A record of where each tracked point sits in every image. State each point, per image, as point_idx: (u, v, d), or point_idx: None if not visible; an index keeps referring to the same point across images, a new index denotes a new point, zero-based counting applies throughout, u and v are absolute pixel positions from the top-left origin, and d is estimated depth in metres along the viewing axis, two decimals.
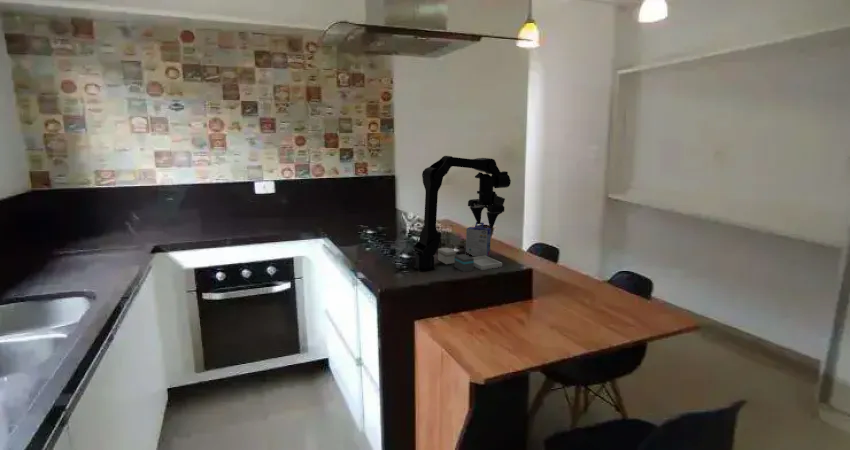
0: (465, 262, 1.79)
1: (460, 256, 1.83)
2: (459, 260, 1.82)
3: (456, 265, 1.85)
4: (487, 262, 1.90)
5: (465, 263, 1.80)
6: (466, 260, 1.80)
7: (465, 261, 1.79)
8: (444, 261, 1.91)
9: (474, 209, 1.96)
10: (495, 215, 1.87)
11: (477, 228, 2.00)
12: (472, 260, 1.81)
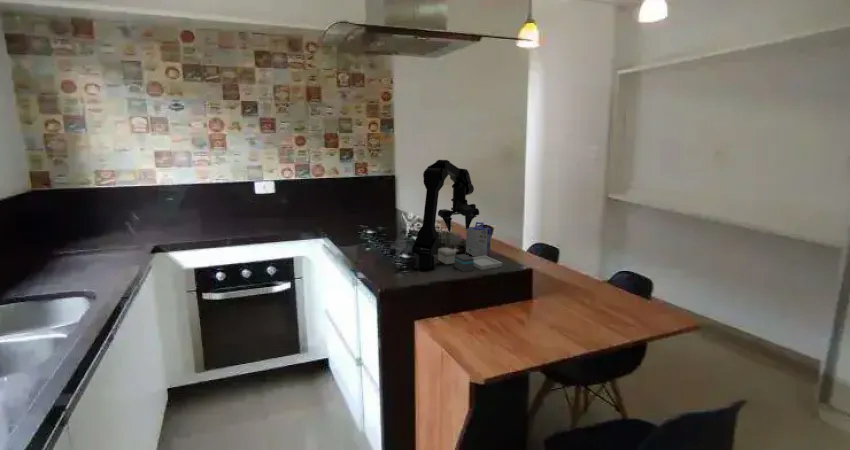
0: (465, 262, 1.79)
1: (460, 256, 1.84)
2: (459, 260, 1.82)
3: (456, 265, 1.85)
4: (487, 262, 1.90)
5: (465, 263, 1.80)
6: (466, 260, 1.80)
7: (465, 261, 1.79)
8: (444, 261, 1.91)
9: (465, 215, 2.13)
10: None
11: (477, 228, 2.00)
12: (472, 260, 1.81)
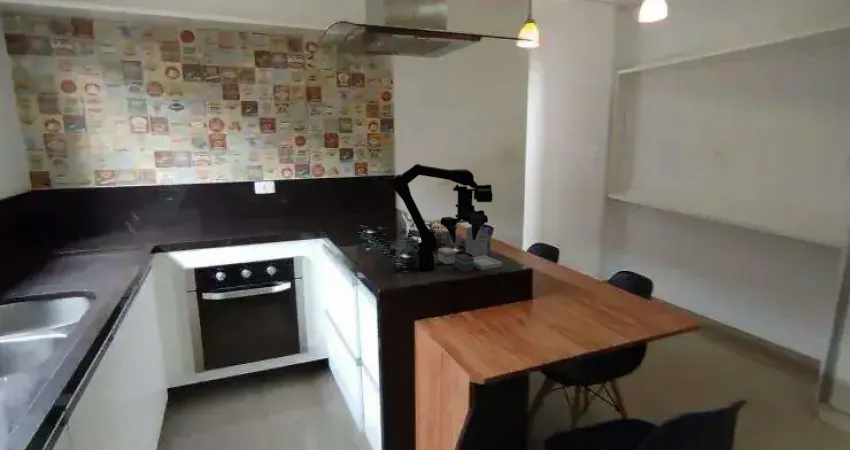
0: (465, 262, 1.79)
1: (460, 256, 1.84)
2: (459, 260, 1.82)
3: (456, 265, 1.85)
4: (487, 262, 1.90)
5: (465, 263, 1.80)
6: (466, 260, 1.80)
7: (465, 261, 1.79)
8: (444, 261, 1.91)
9: None
10: None
11: None
12: (472, 260, 1.81)
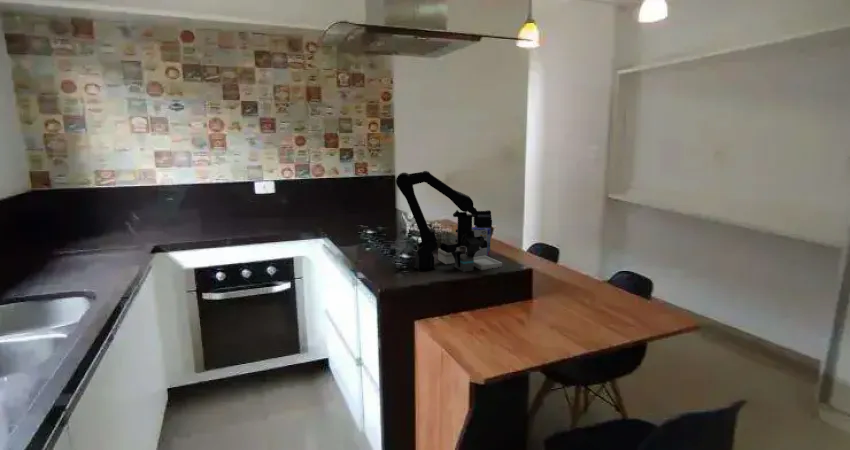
0: (465, 262, 1.79)
1: (460, 256, 1.83)
2: None
3: (456, 265, 1.85)
4: (487, 262, 1.90)
5: (465, 263, 1.80)
6: (466, 260, 1.80)
7: (465, 261, 1.79)
8: (444, 261, 1.91)
9: (467, 248, 1.86)
10: None
11: (477, 228, 2.00)
12: (472, 260, 1.81)
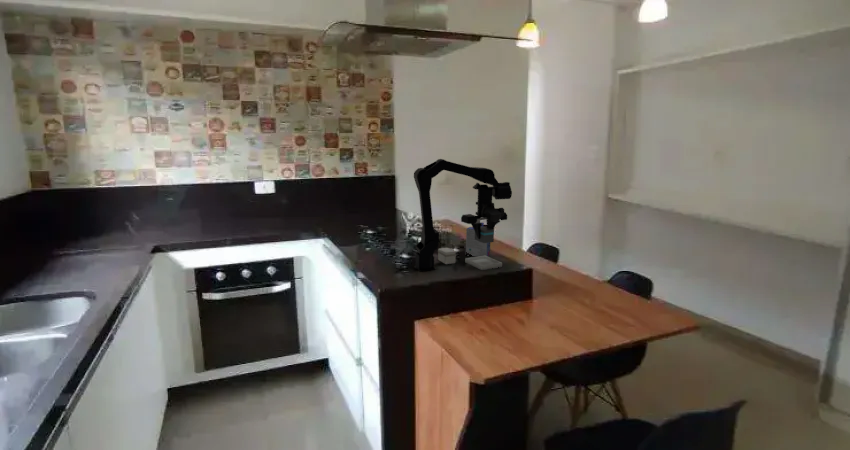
0: (485, 233, 1.82)
1: None
2: None
3: (476, 237, 1.88)
4: (487, 262, 1.90)
5: (485, 234, 1.82)
6: (486, 231, 1.83)
7: (485, 232, 1.82)
8: (444, 261, 1.91)
9: (487, 221, 1.89)
10: None
11: None
12: (492, 232, 1.84)
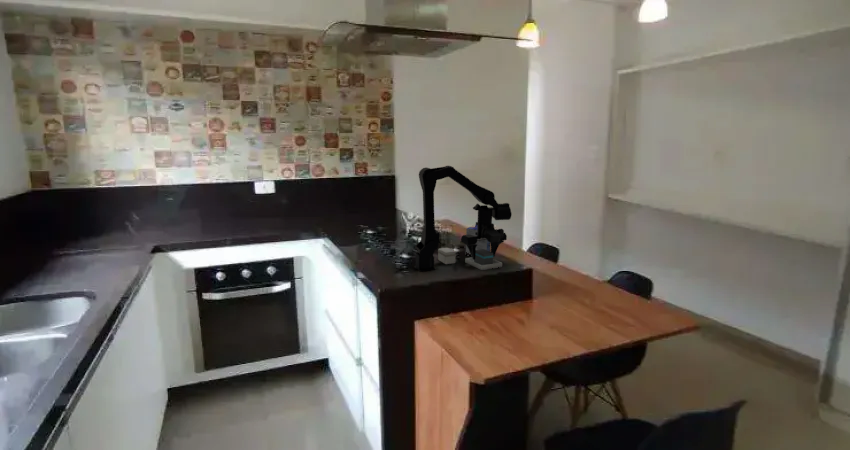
0: (485, 256, 1.85)
1: (480, 251, 1.89)
2: (479, 255, 1.87)
3: (475, 259, 1.90)
4: None
5: (485, 257, 1.85)
6: (486, 254, 1.85)
7: (485, 255, 1.85)
8: (444, 261, 1.91)
9: None
10: None
11: None
12: (492, 255, 1.86)
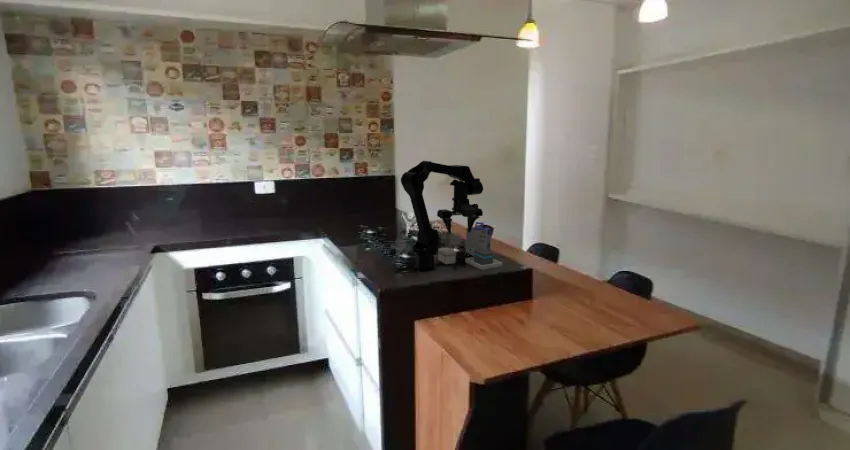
0: (485, 256, 1.85)
1: (480, 251, 1.89)
2: (479, 255, 1.87)
3: (475, 259, 1.90)
4: None
5: (485, 257, 1.85)
6: (486, 254, 1.85)
7: (485, 255, 1.85)
8: (444, 261, 1.91)
9: (468, 216, 1.96)
10: None
11: (477, 228, 2.00)
12: (492, 255, 1.86)
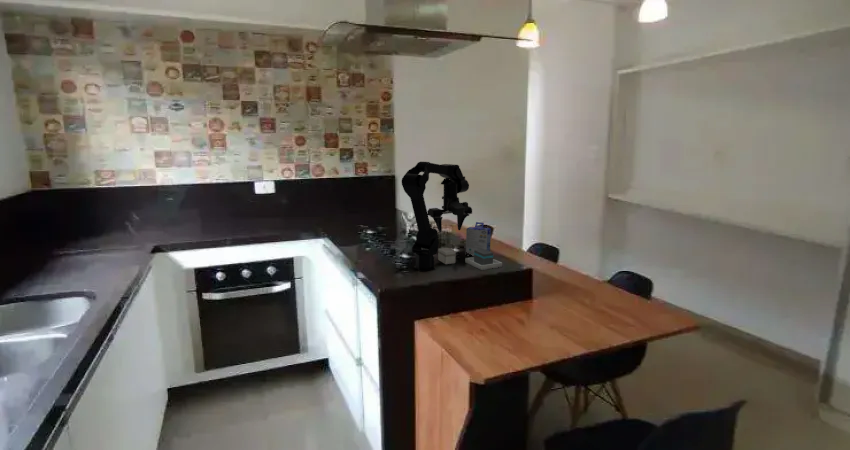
0: (485, 256, 1.85)
1: (480, 251, 1.89)
2: (479, 255, 1.87)
3: (475, 259, 1.90)
4: None
5: (485, 257, 1.85)
6: (486, 254, 1.85)
7: (485, 255, 1.85)
8: (444, 261, 1.91)
9: (457, 214, 1.98)
10: None
11: (477, 228, 2.00)
12: (492, 255, 1.86)
